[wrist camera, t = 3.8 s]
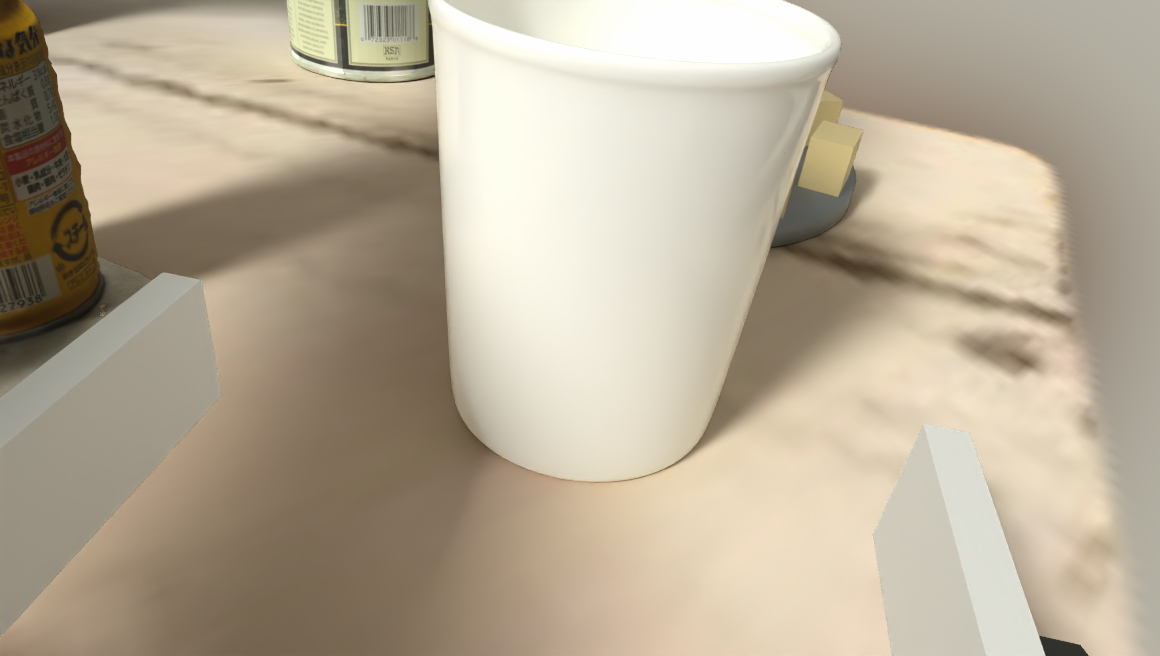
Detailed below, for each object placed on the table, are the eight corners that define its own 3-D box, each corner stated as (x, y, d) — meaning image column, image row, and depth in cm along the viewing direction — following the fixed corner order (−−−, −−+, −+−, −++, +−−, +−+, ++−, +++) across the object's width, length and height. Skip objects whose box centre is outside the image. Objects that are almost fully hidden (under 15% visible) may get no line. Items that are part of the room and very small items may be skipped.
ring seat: (440, 98, 47) (441, 34, 45) (734, 96, 54) (747, 40, 52) (539, 266, 32) (546, 181, 30) (931, 235, 39) (959, 163, 37)
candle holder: (524, 556, 20) (573, 82, 13) (379, 348, 27) (364, -42, 20) (797, 440, 25) (933, 50, 18) (618, 288, 32) (670, -41, 25)
